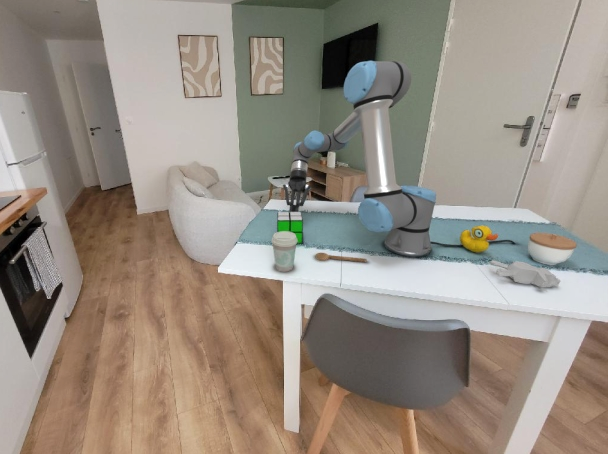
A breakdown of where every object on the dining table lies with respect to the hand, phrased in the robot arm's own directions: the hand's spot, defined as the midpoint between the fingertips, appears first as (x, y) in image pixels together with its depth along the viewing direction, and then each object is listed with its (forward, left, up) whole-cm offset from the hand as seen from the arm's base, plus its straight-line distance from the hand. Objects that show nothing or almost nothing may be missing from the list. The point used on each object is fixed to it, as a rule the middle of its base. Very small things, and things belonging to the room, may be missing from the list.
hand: (292, 219), depth 127 cm
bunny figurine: (-72, +25, -5) cm, 76 cm away
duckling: (-66, +7, -5) cm, 67 cm away
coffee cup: (-2, +33, -5) cm, 33 cm away
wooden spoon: (-20, +23, -5) cm, 31 cm away
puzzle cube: (0, +9, -5) cm, 10 cm away
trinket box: (-85, +10, -5) cm, 86 cm away
